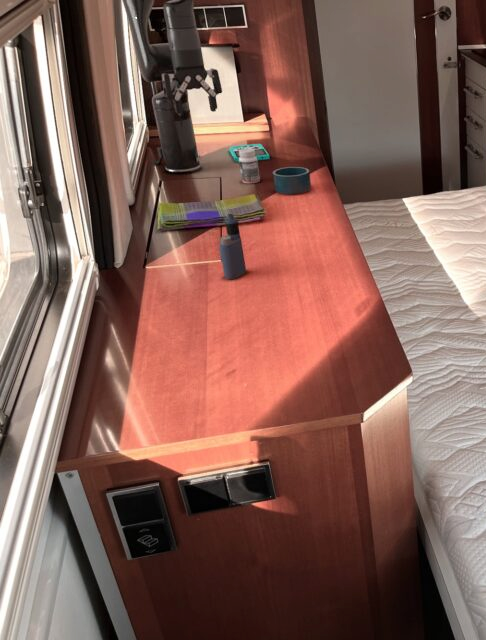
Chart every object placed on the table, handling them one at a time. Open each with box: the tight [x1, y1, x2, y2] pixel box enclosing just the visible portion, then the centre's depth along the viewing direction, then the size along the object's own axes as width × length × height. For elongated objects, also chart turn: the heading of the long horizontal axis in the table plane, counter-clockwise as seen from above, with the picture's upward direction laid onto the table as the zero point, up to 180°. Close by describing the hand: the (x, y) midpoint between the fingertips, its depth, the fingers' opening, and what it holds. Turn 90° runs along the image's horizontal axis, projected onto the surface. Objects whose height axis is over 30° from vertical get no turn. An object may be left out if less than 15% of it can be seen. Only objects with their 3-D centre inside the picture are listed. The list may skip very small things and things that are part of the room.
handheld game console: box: [229, 143, 271, 163], centre depth 246 cm, size 10×16×1 cm, turn 24°
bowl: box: [272, 166, 312, 196], centre depth 213 cm, size 9×9×5 cm
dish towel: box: [157, 193, 268, 231], centre depth 194 cm, size 18×24×3 cm
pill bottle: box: [238, 149, 261, 184], centre depth 219 cm, size 5×5×8 cm
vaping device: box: [218, 214, 247, 280], centre depth 159 cm, size 3×5×12 cm, turn 161°
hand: (197, 113), depth 213 cm, fingers open, 8 cm apart
